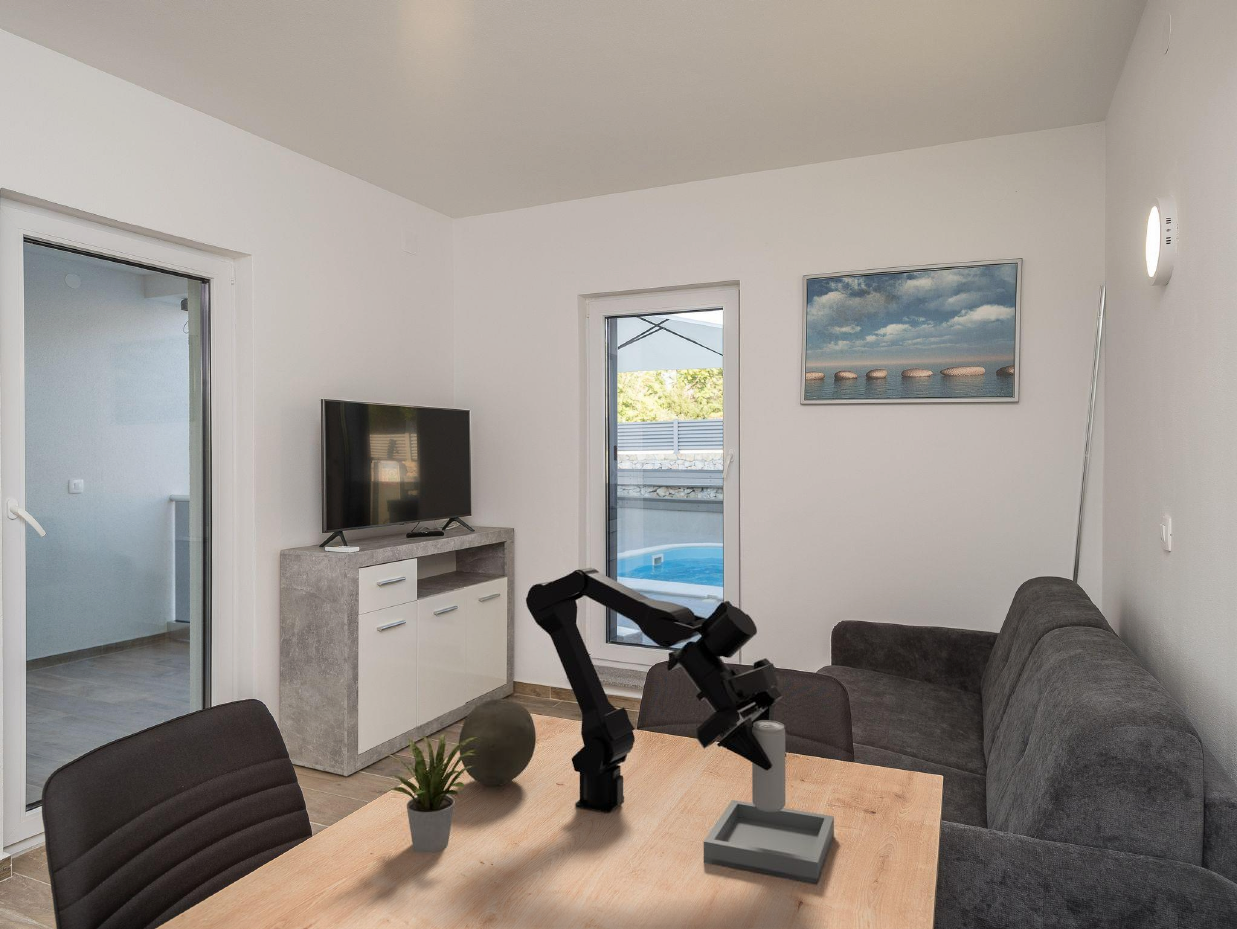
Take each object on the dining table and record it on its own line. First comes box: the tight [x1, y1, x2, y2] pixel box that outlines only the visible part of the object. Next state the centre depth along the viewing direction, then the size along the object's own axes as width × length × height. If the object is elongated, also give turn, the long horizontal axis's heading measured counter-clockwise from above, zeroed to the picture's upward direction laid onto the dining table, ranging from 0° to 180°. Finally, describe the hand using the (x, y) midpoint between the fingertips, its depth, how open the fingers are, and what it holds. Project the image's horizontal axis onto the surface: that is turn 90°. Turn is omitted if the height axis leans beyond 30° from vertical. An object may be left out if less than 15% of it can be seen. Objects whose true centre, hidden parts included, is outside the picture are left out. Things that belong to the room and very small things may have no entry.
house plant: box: [385, 732, 477, 854], centre depth 120 cm, size 14×14×16 cm
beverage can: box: [751, 720, 786, 812], centre depth 118 cm, size 5×5×12 cm
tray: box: [703, 799, 835, 886], centre depth 118 cm, size 16×16×3 cm
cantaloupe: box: [458, 698, 537, 787], centre depth 142 cm, size 14×14×15 cm
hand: (777, 763), depth 117 cm, fingers closed on beverage can, 5 cm apart
